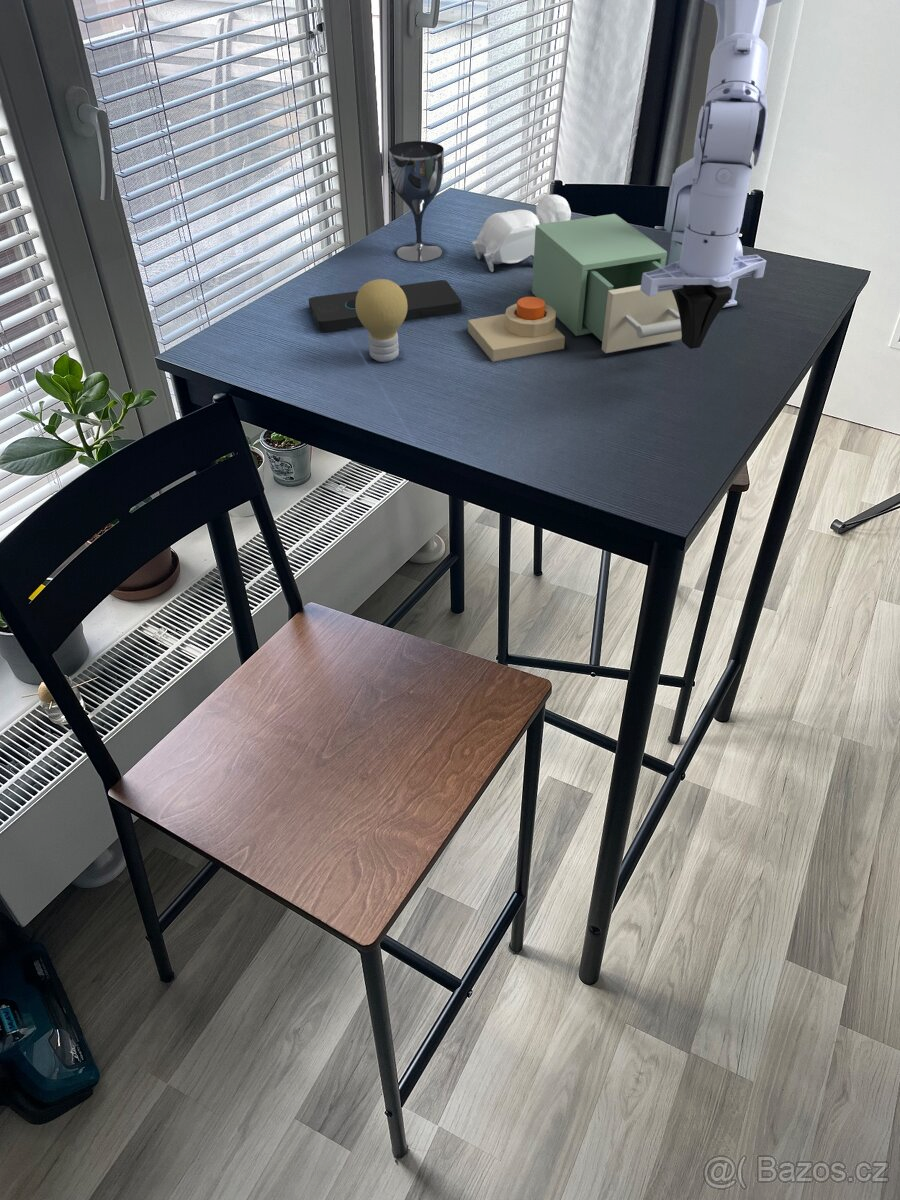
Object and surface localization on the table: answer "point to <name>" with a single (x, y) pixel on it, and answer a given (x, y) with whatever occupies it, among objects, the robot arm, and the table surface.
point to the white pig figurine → (517, 231)
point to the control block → (516, 334)
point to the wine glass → (417, 188)
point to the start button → (530, 308)
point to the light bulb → (382, 316)
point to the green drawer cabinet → (583, 260)
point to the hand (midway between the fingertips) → (691, 344)
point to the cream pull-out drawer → (628, 308)
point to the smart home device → (420, 300)
